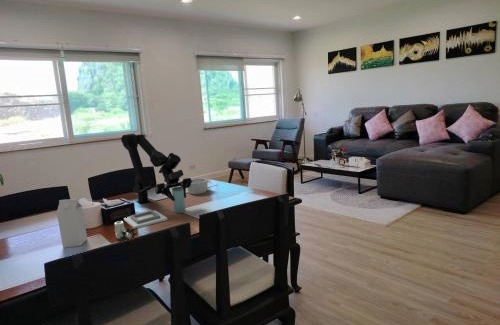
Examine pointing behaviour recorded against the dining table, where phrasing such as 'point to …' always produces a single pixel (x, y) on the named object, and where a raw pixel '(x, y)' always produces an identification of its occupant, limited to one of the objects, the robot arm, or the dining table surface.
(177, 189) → the cup
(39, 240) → the dining table surface
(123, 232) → the valve
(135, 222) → the dock
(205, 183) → the ramekin
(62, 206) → the milk carton
